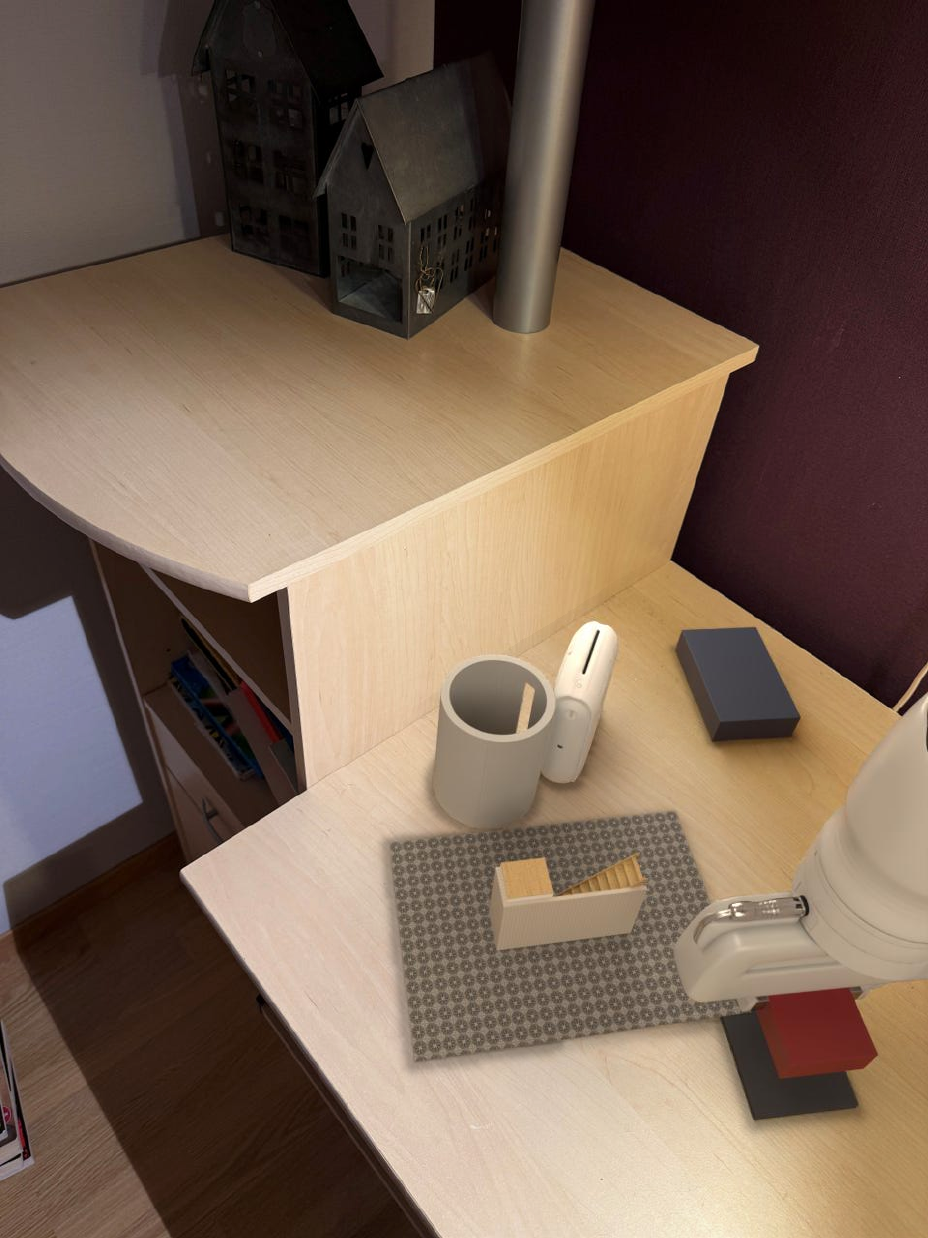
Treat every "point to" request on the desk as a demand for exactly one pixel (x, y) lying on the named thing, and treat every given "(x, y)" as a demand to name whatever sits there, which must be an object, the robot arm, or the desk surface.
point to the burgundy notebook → (816, 1033)
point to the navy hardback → (736, 684)
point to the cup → (490, 740)
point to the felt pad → (768, 1089)
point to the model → (546, 933)
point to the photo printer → (579, 700)
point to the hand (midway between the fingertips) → (797, 994)
